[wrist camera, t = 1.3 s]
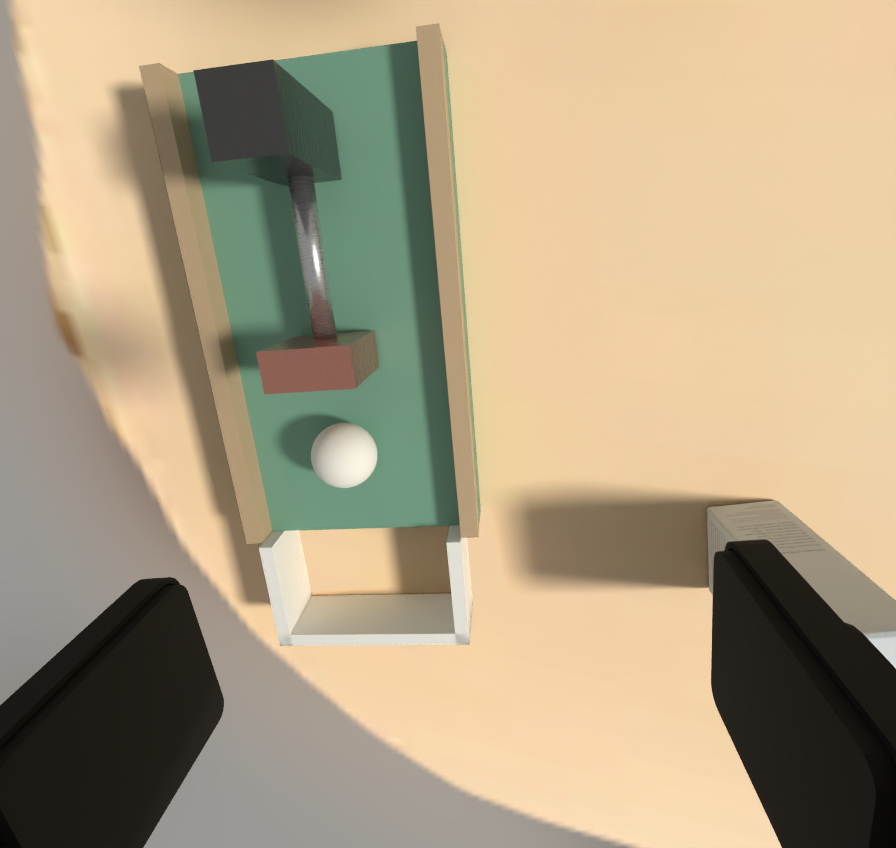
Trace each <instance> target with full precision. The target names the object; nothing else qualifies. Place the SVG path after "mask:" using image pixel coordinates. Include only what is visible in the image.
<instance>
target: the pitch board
mask: <svg viewBox="0 0 896 848" xmlns="http://www.w3.org/2000/svg"><path fill="white" fill-rule="evenodd" d="M416 32H417V41H412V42H405V43H398V44H391V45H384V46H376V47H369V48H362V49H355V50H348V51H340V52H333V53H326V54H319V55H312V56H304V57H297V58H290V59H283V60H276V61H275V62H276V63H278V64H279V65H280V66H281V67H282V68H283V69H284V70H286V71H287V72H288V73H289V74H290V75H291V76H293V77H294V78H295V79H296V80H297V81H298V82H299V83H301V84H302V85H303V86H304V87H305V88H306V89H307V90H309V91H310V92H311V93H312V94H313V95H314V96H315V97H317V98H318V99H319V100H320V101H321V102H322V103H324V104H325V105H326V106H327V107H328V108H329V109H330V110H332V111H333V117H334V125H335V132H336V140H337V147H338V155H339V162H340V170H341V177H342V180H334V181H325V182H316V183H314V184H315V190H316V197H317V204H318V211H319V217H320V224H321V231H322V238H323V245H324V251H325V258H326V265H327V272H328V278H329V285H330V292H331V299H332V306H333V312H334V319H335V326H336V333H346V332H359V331H372V330H375V337H376V344H377V352H378V360H379V368H378V369H377V370H375V371H374V372H373V373H372V374H371V375H370V376H369V377H368V378H367V379H366V380H365V381H364V382H362V383H361V384H360V385H359V386H358V387H357V388H356V389H343V390H327V391H311V392H296V393H280V394H264V391H263V386H262V380H261V375H260V370H259V365H258V360H257V355H256V352H257V351H260V350H262V349H265V348H268V347H270V346H273V345H275V344H278V343H280V342H283V341H285V340H288V339H290V338H293V337H296V336H306V335H313V334H312V328H311V322H310V316H309V310H308V303H307V297H306V291H305V285H304V279H303V272H302V266H301V260H300V254H299V248H298V241H297V235H296V229H295V223H294V217H293V210H292V204H291V198H290V192H289V186H282V185H279V184H276V183H273V182H270V181H267V180H264V179H261V178H258V177H255V176H252V175H249V174H246V173H243V172H240V171H237V170H234V169H231V168H228V167H224V166H221V165H218V164H215V163H212V161H211V156H210V151H209V146H208V141H207V136H206V131H205V126H204V121H203V116H202V111H201V106H200V101H199V96H198V91H197V86H196V81H195V76H194V72H189V73H182V74H177V73H175V72H174V71H172V70H170V69H168V68H167V67H165V66H163V65H161V64H160V63H157V64H150V65H143V66H139V68H140V72H141V77H142V81H143V86H144V90H145V95H146V99H147V104H148V108H149V112H150V117H151V121H152V126H153V130H154V135H155V139H156V144H157V148H158V152H159V157H160V161H161V166H162V170H163V175H164V179H165V184H166V188H167V192H168V197H169V201H170V206H171V210H172V215H173V219H174V224H175V228H176V232H177V237H178V241H179V246H180V250H181V255H182V259H183V264H184V268H185V273H186V277H187V281H188V286H189V290H190V295H191V299H192V304H193V308H194V313H195V317H196V321H197V326H198V330H199V335H200V339H201V344H202V348H203V353H204V357H205V361H206V366H207V370H208V375H209V379H210V384H211V388H212V393H213V397H214V401H215V406H216V410H217V415H218V419H219V424H220V428H221V433H222V437H223V441H224V446H225V450H226V455H227V459H228V464H229V468H230V473H231V477H232V481H233V486H234V490H235V495H236V499H237V504H238V508H239V513H240V517H241V521H242V526H243V530H244V535H245V539H246V544H262V543H263V542H264V541H265V540H266V539H267V537H268V536H269V535H270V534H271V532H272V531H293V530H325V529H357V528H388V527H420V526H451V525H460V533H461V538H472V537H478V535H479V521H480V497H479V484H478V470H477V457H476V443H475V430H474V417H473V403H472V390H471V376H470V363H469V349H468V336H467V322H466V309H465V295H464V282H463V268H462V255H461V241H460V228H459V214H458V201H457V187H456V174H455V160H454V147H453V133H452V120H451V106H450V93H449V80H448V66H447V53H446V49H445V45H444V42H443V38H442V34H441V30H440V26H439V24H432V25H425V26H418V27H416ZM337 423H352V424H356V425H358V426H360V427H362V428H363V429H365V430H366V431H367V432H368V433H369V434H370V435H371V436H372V438H373V440H374V442H375V444H376V447H377V463H376V466H375V468H374V470H373V472H372V474H371V475H370V476H369V477H368V478H367V479H366V480H365V481H364V482H362V483H361V484H359V485H357V486H354V487H350V488H338V487H334V486H331V485H329V484H327V483H325V482H324V481H323V480H321V479H320V478H319V476H318V475H317V474H316V472H315V470H314V468H313V466H312V462H311V450H312V446H313V443H314V441H315V439H316V438H317V436H318V435H319V434H320V433H321V432H322V431H323V430H324V429H326V428H327V427H329V426H331V425H334V424H337Z"/></svg>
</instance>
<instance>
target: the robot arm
mask: <svg viewBox="0 0 896 848" xmlns="http://www.w3.org/2000/svg"><path fill="white" fill-rule="evenodd" d="M711 686H712V693H713V697H714V701H715V704H716V706H717V709H718V711H719V713H720V715H721V718H722V720H723V722H724V724H725V726H726V728H727V730H728V733H729V735H730V737H731V739H732V741H733V743H734V745H735V748H736V750H737V752H738V754H739V756H740V758H741V760H742V763H743V765H744V767H745V769H746V771H747V773H748V775H749V778H750V780H751V782H752V784H753V786H754V788H755V790H756V793H757V795H758V797H759V799H760V801H761V803H762V805H763V808H764V810H765V812H766V814H767V816H768V818H769V820H770V823H771V825H772V827H773V829H774V831H775V833H776V835H777V837H778V840H779V842H780V844H781V846H782V848H896V668H895V667H894V666H893V665H892V664H891V663H890V662H889V661H888V660H887V659H886V658H885V656H884V655H883V654H882V653H881V652H880V651H879V650H878V649H877V648H876V647H875V646H874V645H873V644H872V643H871V642H870V640H869V639H868V638H867V637H866V636H865V635H864V634H863V633H862V632H861V631H859V630H858V629H857V628H856V627H855V626H853V625H851V624H848V623H844V621H843V620H842V619H841V618H840V617H839V616H838V615H837V614H836V613H835V612H834V611H833V609H832V608H831V607H830V606H829V605H828V604H827V603H826V602H825V601H824V600H823V599H822V597H821V596H820V595H819V594H818V593H817V592H816V591H815V590H814V589H813V588H812V586H811V585H810V584H809V583H808V582H807V581H806V580H805V579H804V578H803V577H802V576H801V574H800V573H799V572H798V571H797V570H796V569H795V568H794V567H793V566H792V565H791V564H790V562H789V561H788V560H787V559H786V558H785V557H784V556H783V555H782V554H781V553H780V552H779V550H778V549H777V548H776V547H775V546H774V545H773V544H772V543H771V542H770V541H769V540H766V539H760V540H744V541H729V542H728V543H726V546H725V550H724V551H717V552H716V553H715V555H714V566H713V617H712V669H711ZM223 707H224V699H223V695H222V692H221V689H220V686H219V683H218V680H217V677H216V674H215V671H214V668H213V665H212V662H211V659H210V656H209V654H208V650H207V647H206V644H205V641H204V638H203V635H202V632H201V629H200V626H199V623H198V620H197V617H196V614H195V612H194V609H193V606H192V603H191V600H190V597H189V594H188V591H187V590H186V588H185V587H184V586H183V585H180V584H179V582H178V581H177V580H176V579H174V578H170V577H168V578H153V579H142V580H139V581H137V582H136V583H135V584H133V585H132V586H131V587H130V588H129V589H128V590H127V591H126V592H125V593H124V594H122V595H121V596H120V597H119V598H118V599H117V600H116V601H115V602H114V603H113V604H111V605H110V606H109V607H108V608H107V609H106V610H105V611H104V612H103V613H102V614H101V615H99V616H98V617H97V618H96V619H95V620H94V621H93V622H92V623H90V624H89V625H88V626H87V627H86V628H85V629H84V630H83V631H82V632H81V633H79V634H78V635H77V636H76V637H75V638H74V639H73V640H72V641H71V642H70V643H69V644H67V645H66V646H65V647H64V648H63V649H62V650H61V651H60V652H59V653H57V654H56V655H55V656H54V657H53V658H52V659H51V660H50V661H49V662H48V663H46V665H44V666H43V667H42V668H41V669H40V670H39V671H38V672H37V673H35V675H33V676H32V677H31V678H30V679H29V680H28V681H27V682H26V683H24V684H23V685H22V686H21V687H20V688H19V689H18V690H17V691H16V692H15V693H13V694H12V695H11V696H10V697H9V698H8V699H7V700H6V701H5V702H4V703H3V704H1V705H0V848H143V847H144V845H145V844H146V842H147V840H148V839H149V837H150V835H151V834H152V832H153V830H154V829H155V827H156V825H157V824H158V822H159V820H160V818H161V817H162V815H163V814H164V812H165V810H166V809H167V807H168V805H169V804H170V802H171V800H172V799H173V797H174V795H175V794H176V792H177V790H178V789H179V787H180V785H181V784H182V782H183V780H184V779H185V777H186V775H187V774H188V772H189V770H190V769H191V767H192V765H193V764H194V762H195V760H196V759H197V757H198V755H199V754H200V752H201V750H202V749H203V747H204V745H205V744H206V742H207V740H208V739H209V737H210V735H211V734H212V732H213V730H214V729H215V727H216V725H217V724H218V722H219V720H220V718H221V716H222V712H223Z"/></svg>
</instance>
